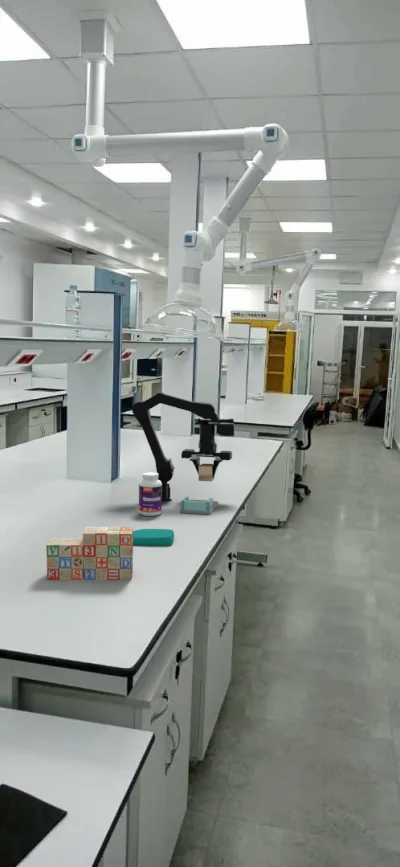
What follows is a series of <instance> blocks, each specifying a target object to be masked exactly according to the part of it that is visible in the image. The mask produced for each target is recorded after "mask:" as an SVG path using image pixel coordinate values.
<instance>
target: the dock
mask: <svg viewBox="0 0 400 867" xmlns="http://www.w3.org/2000/svg"><path fill="white" fill-rule="evenodd" d="M180 504H181V506H180V509H179V513H184V514H198V515H199V514H201V515H211V514H212V513H213V512H214V511H215V509H216V508H217V506H218V505H219V502H218V500H217V501H215V500H214V498H213V497H210V498H209V499H208V500H201V499H200V500H199V499H189V496H185V497H184V498H183V499H182V500H181V503H180Z"/></svg>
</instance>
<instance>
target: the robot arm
mask: <svg viewBox="0 0 400 867" xmlns="http://www.w3.org/2000/svg"><path fill="white" fill-rule="evenodd" d="M160 404H162V405H166V406H169V407H173V408H176V409H179V410H183V411H186V412H190V413H192V414H194V415H196V416H197V417H198V418H197V420H196V421H195V422H194V425H196V426H198V425H199V440H198V450H199V451H195V448H185V449H184V450H182V451H181V459H188V460H189V461H190V462H192V463H193V466H194V468H195V470H196V472H197V475H198V476H199V466H200V465H201V457H202V458H214V460H213V463H212V464H213V477H214V476H216V473H217V471H218V467H219V465H220V463H222V462H223V461H231V459H233V451H231V450H221V451H220V452H217V448H218V447H217V446H218V444H217V443H216V440H215V438H216V437H215V435H219V437H226V438H227V437H228V438H231V437H232V438H233V437H234V438H235V426H234V425H235V424H234V423H235V422H234V419H235V418H220V417H219V415H218V414H217V413H216V408H215V406H214V405H213V403H210V402H202V401H191V400H189V399H185V398H181V397H176V396H173V395H170V394H166V393H164V392H157V393H156V394H155V395H152V396H151V397H149V398H148V399H146V400H139V401H137V402H135V403H134V404H133V405H132V407H131V411H132V412H131V413H132V414H133V416H134V417H135V419H136V421H137V422H138V423H139V425H140V426H141V428H142V430H143V433H144V435H145V438H146V440H147V443H148V446H149V448H150V451H151V453H152V456H153V458H154V462H155V468H156V473H158V480H160V481H161V482H162V503H163V502H169V501H172V498H171V487H170V483H168V482H170V481H171V480H172V478H173V476H174V474H175V471H174V470H175V468H176V467H175V466H174V464H173V461H172V458H167V457H166V455H165V453H164V451H163V448H162V446H161V443H160V440H159V437H158V436H157V433H156V430H155V427H154V425H153V422H152V417H151V411H150V410H152V409H153V408H154V407H157V406H158V405H160ZM201 418H202V419H201ZM210 421H211V422H210ZM215 430H216V434H215Z"/></svg>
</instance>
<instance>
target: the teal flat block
mask: <svg viewBox="0 0 400 867" xmlns="http://www.w3.org/2000/svg"><path fill="white" fill-rule="evenodd" d="M174 540H175V532H174V530H173V529H169V528H167V529H166V528H139V529H136V530H133V546H140V547H141V546H144V547H145V546H146V547H167V546H168V547H169V546H171V545H173V542H174Z"/></svg>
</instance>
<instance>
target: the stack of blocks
mask: <svg viewBox="0 0 400 867" xmlns="http://www.w3.org/2000/svg"><path fill="white" fill-rule="evenodd" d="M133 531H134V527H133V526H131V527H129V526H124V527H123V526H122V527H121V526H85V527H84V530H83V532H82V537H81V538H79V537H77V538H76V537H75V538H74V537H72V538H71V537H63V538H60V537H59V538H58V537H52V538H51V537H50V539H49V540H48V542H47V544H46V546H45V547H46V579H47V581H132V579H133V573H134V572H133V571H134V570H133V569H134V562H133V561H134V545H133Z"/></svg>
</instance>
